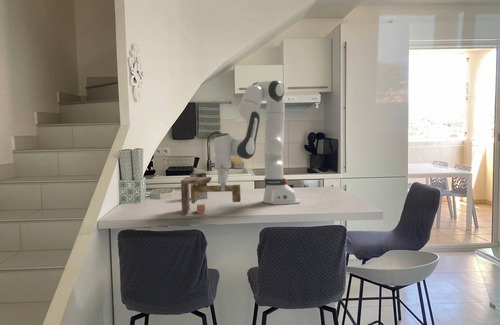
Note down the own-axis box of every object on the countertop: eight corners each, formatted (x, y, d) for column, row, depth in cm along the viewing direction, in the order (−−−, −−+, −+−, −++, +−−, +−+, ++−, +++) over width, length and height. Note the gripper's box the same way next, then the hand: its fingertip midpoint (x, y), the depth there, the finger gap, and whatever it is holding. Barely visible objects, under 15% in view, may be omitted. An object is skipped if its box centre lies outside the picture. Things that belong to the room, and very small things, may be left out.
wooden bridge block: (240, 199, 219) (240, 184, 219) (239, 202, 210) (239, 186, 210) (194, 200, 220) (193, 185, 219) (191, 203, 211) (190, 187, 210)
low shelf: (212, 209, 223) (211, 176, 222) (208, 214, 209) (207, 180, 208) (187, 209, 224) (186, 177, 222) (182, 214, 210) (180, 180, 208)
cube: (205, 211, 218) (205, 204, 218) (204, 212, 214) (204, 205, 214) (198, 211, 218) (198, 204, 218) (197, 213, 214) (196, 205, 214)
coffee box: (203, 196, 263) (203, 172, 262) (207, 198, 258) (206, 173, 256) (190, 198, 259) (189, 173, 258) (193, 199, 253) (193, 174, 252)
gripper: (227, 166, 203) (227, 193, 204) (230, 162, 223) (230, 187, 225) (214, 166, 203) (215, 193, 204) (219, 162, 224) (219, 187, 225)
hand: (223, 190), depth 215 cm, fingers closed on wooden bridge block, 2 cm apart
